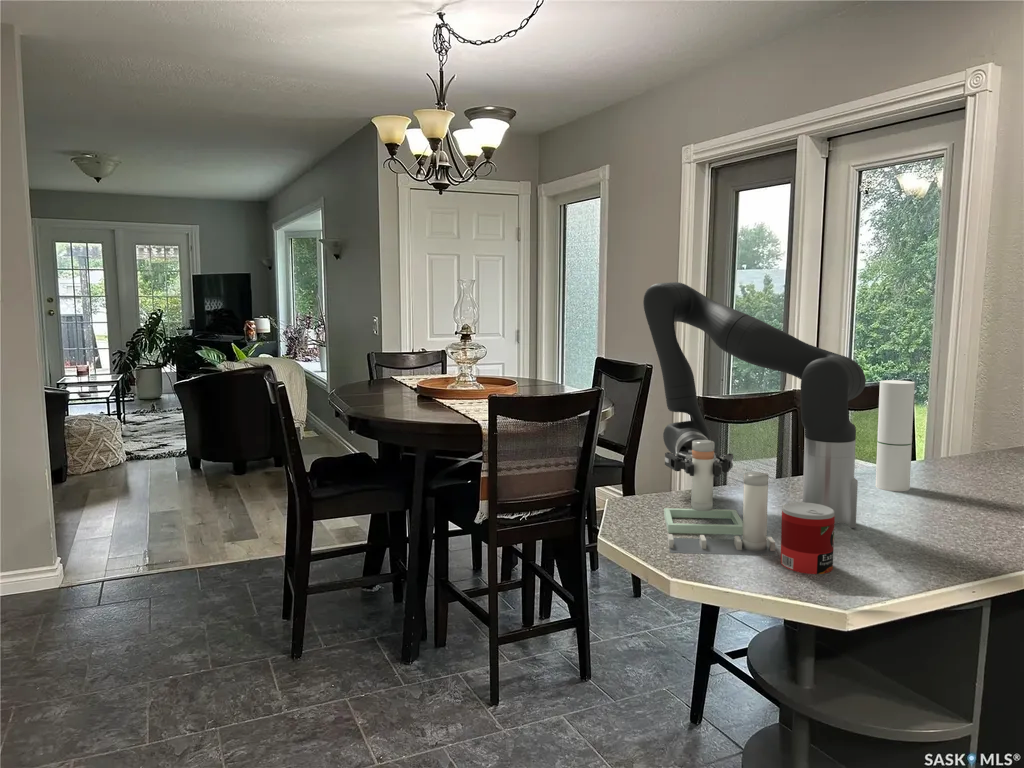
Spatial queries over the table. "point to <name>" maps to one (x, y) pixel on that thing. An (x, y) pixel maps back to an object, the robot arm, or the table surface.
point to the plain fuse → (755, 511)
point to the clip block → (716, 546)
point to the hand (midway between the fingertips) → (704, 471)
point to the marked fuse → (702, 475)
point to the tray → (703, 528)
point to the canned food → (807, 537)
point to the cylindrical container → (894, 435)
